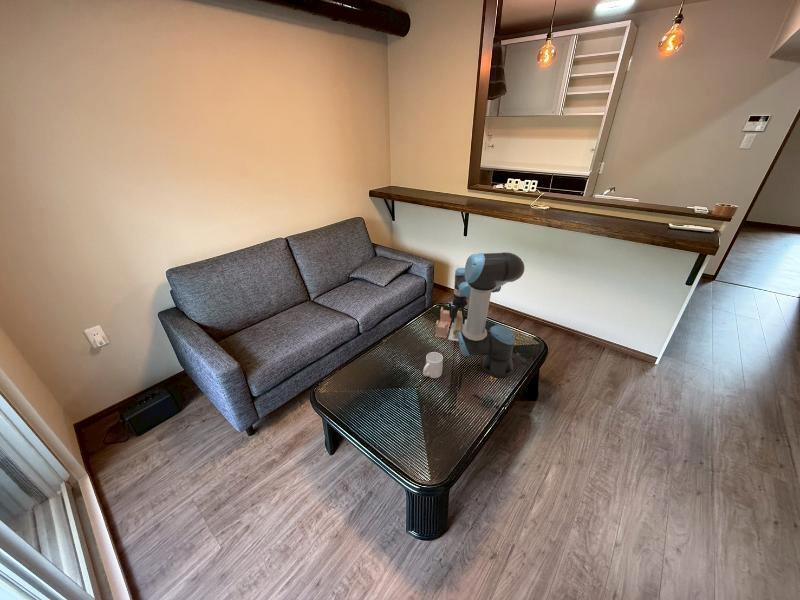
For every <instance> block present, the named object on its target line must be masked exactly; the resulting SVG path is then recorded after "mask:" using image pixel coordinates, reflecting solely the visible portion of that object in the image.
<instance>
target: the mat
mask: <svg viewBox="0 0 800 600" xmlns="http://www.w3.org/2000/svg"><path fill="white" fill-rule="evenodd" d="M466 323H467V320H465V324H463V327H464V326H466ZM463 327H462V329H460V332H462V330H463ZM453 330H454V323H453V322H452V321H451V325H450V328H449V332H448V336H447V340H448V341H451V342H452V341H454V342H459V341H458V335H453Z"/></svg>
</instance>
